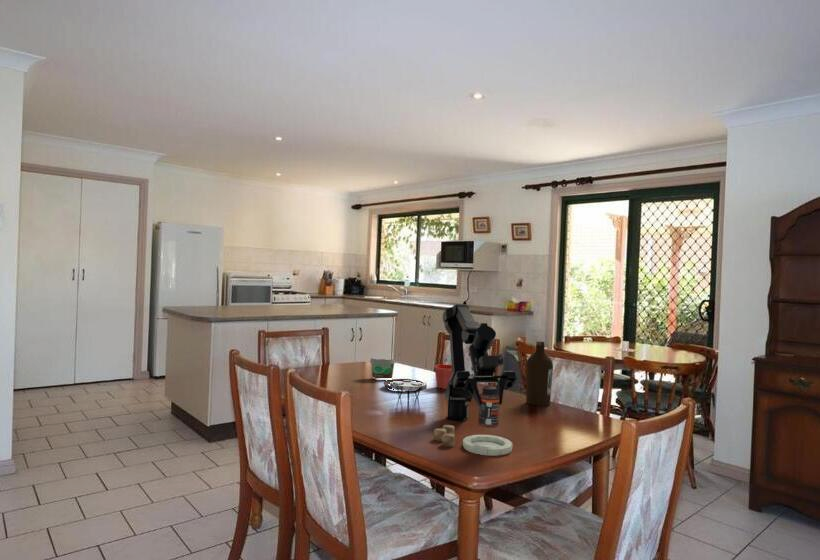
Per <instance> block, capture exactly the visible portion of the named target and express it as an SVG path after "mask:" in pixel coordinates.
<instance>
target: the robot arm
mask: <svg viewBox="0 0 820 560" xmlns="http://www.w3.org/2000/svg"><path fill="white" fill-rule="evenodd" d="M469 308H470V307H469V305H468V304H464V303H463V304H460V303H459V304H458V303H456V304H453V306H451V307H448V308H446V309H445V310H444V311H443V313H442V321H443V323H444V324H443V325H444V328H445V330H446V331H447V333H448V334H449V345H450V348H449V349H450V358H451V361H450V362H451V365H452V375H451V377H450V379H449V381H448V386H447V388H446V390H444V400H445V401H446V402H447V416H446V417H445V420H446V419H447V420H453V421H454V420H455V421H460V422H464V421H465V420H467V419H468V418H469V416H470V415H469V411H470V408H469V405H468V403H471V402H472V399H474V400H475V402H476V403H477V404H478V406H479V405H481V398H480V392H479V388H478V383H479V384H480V383H481V384H484V383H488V384H489V383H493V384H494V383H495V387H496V388H497V392H496V393H497V395H498V396H499V406H501V405H502V404H503V397H504V390H506V389H511V388H513V387H514V385H515V384H516V381H517V379H518V375H517V372H515V371H514V370H503V371H501V374H500V375H494V374H495V373H496V372H497V369H496V368H498V367H499V366H503V365H504V362H505V361H504V356H503V354H502V353H496V354H495V355H490V354H489V352H488V351H489V350H490V349H491V347H492V346H493V343H494V341H495V338H496V337H497V334H496V330H494V328H493V327H492V326H489V325H488V323H487V322H485V323H484V322H479V323H478V322H477V321H476V320H475V318H474V316H473V315H472V313H471V311H470V309H469ZM464 345H469V347H468V356H469V358H470V362H471V368H470V369H471V371H472V372H473V373H470V371H469V370H466V367H465V365H466V364H465V355H464V354H465V353H464V352H465V351H464Z"/></svg>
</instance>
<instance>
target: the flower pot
mask: <svg viewBox="0 0 820 560" xmlns="http://www.w3.org/2000/svg"><path fill="white" fill-rule="evenodd" d="M434 368H435V377H436V383H437V388H438V387H439V388H438V389H440V388H443V389H442V390H444V389H446V388H447V386H448V381H449V379H450V377H451V375H452V364H435V366H434Z"/></svg>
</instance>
